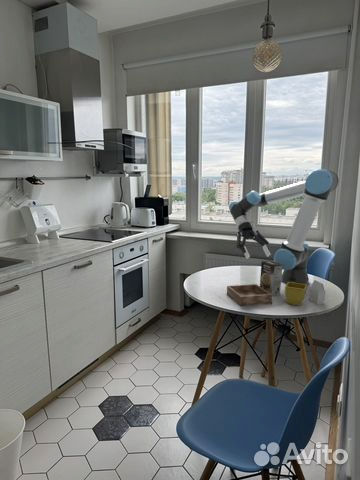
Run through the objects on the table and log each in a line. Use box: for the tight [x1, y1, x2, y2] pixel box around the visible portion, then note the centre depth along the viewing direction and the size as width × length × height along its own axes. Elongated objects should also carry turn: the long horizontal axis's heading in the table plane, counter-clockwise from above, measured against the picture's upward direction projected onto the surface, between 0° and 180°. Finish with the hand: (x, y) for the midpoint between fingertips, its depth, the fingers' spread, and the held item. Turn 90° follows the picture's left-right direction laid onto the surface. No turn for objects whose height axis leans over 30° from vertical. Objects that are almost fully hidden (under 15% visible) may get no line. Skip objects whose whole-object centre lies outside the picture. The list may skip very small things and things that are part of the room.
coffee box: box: [259, 259, 283, 297], centre depth 167 cm, size 9×6×16 cm
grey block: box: [308, 279, 326, 305], centre depth 157 cm, size 4×7×10 cm, turn 10°
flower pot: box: [284, 282, 308, 307], centre depth 154 cm, size 9×9×9 cm
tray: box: [226, 283, 273, 307], centre depth 159 cm, size 16×16×4 cm
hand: (258, 257), depth 175 cm, fingers open, 13 cm apart
